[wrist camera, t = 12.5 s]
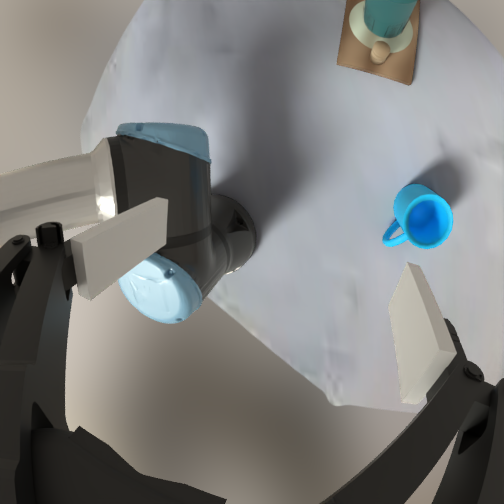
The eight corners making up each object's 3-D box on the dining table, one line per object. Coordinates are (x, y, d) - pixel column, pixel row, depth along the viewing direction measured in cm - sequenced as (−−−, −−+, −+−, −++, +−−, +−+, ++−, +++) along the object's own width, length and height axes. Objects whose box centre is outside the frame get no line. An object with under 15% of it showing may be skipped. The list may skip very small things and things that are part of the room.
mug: (420, 173, 40) (435, 182, 33) (445, 212, 41) (461, 227, 34) (366, 216, 46) (371, 232, 39) (393, 252, 47) (400, 273, 40)
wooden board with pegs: (336, 64, 37) (336, 52, 31) (349, -20, 29) (349, -41, 23) (409, 85, 35) (421, 77, 29) (418, -1, 27) (428, -19, 21)
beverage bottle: (401, 46, 31) (435, -4, 14) (360, 37, 33) (368, -22, 15) (401, 14, 29) (429, -47, 11) (361, 5, 30) (366, -62, 13)
